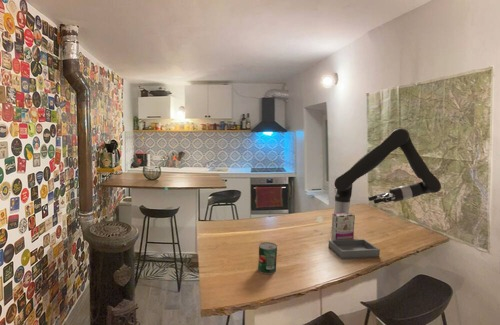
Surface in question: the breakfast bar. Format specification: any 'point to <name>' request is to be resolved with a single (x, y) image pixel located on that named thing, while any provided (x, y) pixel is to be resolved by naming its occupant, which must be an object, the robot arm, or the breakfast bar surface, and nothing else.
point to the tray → (353, 249)
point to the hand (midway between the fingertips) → (371, 200)
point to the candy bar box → (342, 226)
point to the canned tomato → (267, 258)
